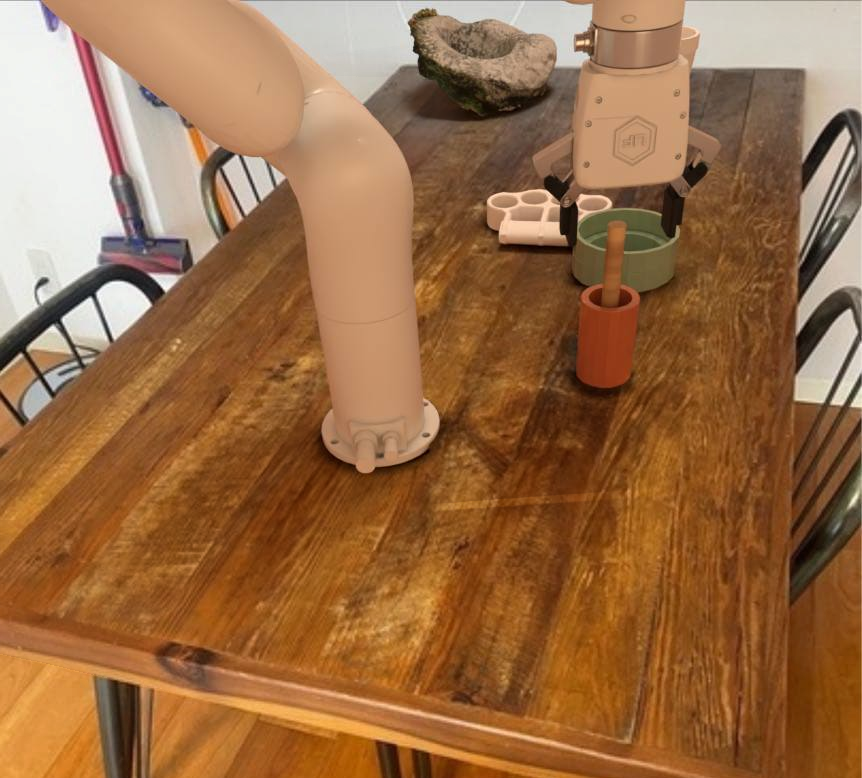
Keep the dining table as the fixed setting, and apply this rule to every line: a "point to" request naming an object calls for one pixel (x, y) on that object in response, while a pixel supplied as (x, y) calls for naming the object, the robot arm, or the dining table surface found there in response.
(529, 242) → the white brass knuckles
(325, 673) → the dining table surface
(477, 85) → the stone basin
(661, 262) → the bowl
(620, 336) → the crock
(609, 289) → the paddle
